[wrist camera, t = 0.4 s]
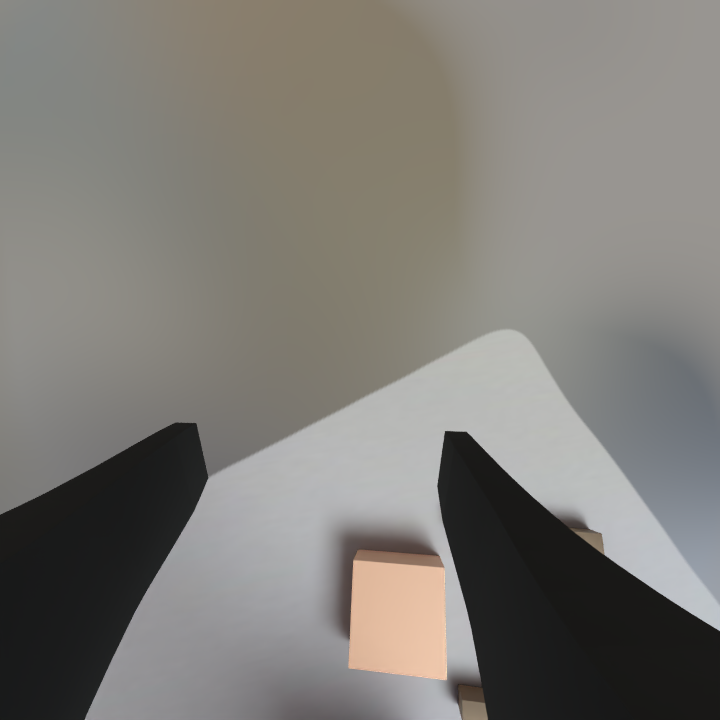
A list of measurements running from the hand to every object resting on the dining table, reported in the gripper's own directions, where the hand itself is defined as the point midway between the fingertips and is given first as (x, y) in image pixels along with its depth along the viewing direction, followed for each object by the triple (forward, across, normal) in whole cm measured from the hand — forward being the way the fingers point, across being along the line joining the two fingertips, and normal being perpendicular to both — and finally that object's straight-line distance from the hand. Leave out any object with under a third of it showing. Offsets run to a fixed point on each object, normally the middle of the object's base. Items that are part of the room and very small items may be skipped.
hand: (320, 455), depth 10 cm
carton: (+13, -5, +28) cm, 31 cm away
